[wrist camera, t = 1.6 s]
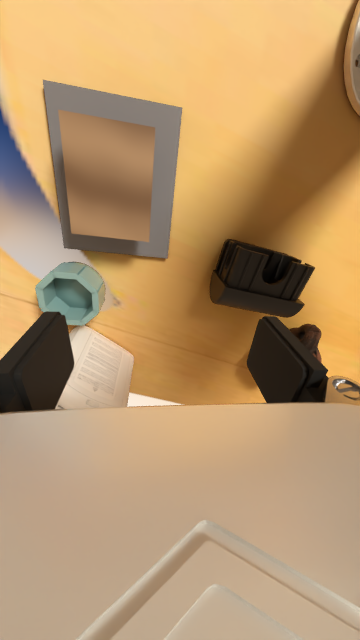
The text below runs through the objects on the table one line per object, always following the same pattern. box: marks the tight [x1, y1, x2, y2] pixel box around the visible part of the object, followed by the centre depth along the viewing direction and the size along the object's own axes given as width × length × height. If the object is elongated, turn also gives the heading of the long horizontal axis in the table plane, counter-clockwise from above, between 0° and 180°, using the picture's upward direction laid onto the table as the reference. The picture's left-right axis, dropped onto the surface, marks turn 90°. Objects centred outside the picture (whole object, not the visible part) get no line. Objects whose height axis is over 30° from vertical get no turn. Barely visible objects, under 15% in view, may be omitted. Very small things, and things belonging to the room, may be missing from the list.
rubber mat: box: [43, 80, 182, 258], centre depth 22 cm, size 14×12×3 cm
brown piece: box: [290, 324, 321, 362], centre depth 35 cm, size 12×10×8 cm
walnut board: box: [58, 110, 155, 242], centre depth 20 cm, size 9×7×1 cm
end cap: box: [210, 239, 315, 317], centre depth 27 cm, size 10×7×7 cm
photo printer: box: [55, 325, 134, 409], centre depth 29 cm, size 10×4×12 cm, turn 47°
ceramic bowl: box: [35, 262, 105, 326], centre depth 27 cm, size 7×7×4 cm
